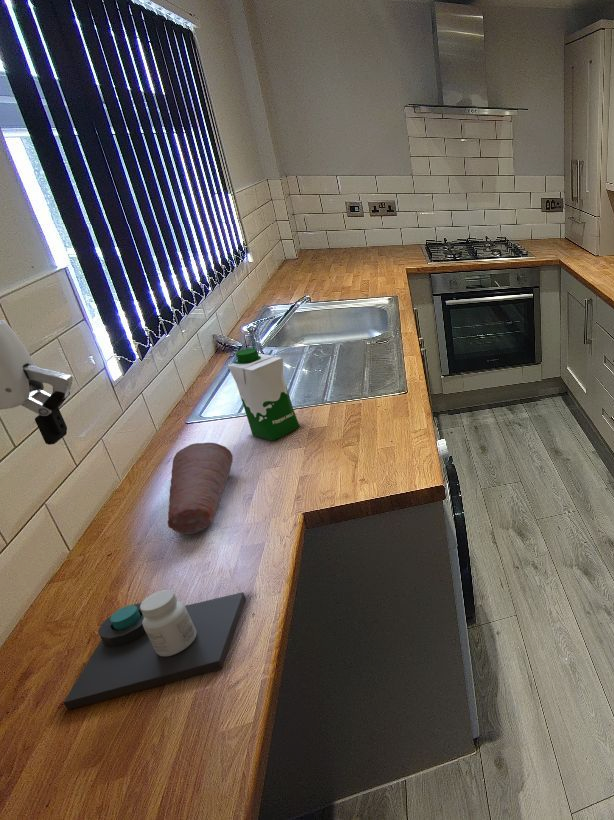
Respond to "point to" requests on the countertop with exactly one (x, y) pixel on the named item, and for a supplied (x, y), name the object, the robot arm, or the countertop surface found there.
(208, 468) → the food
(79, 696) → the scale
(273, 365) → the milk carton
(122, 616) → the button
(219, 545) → the countertop surface
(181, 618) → the pill bottle
